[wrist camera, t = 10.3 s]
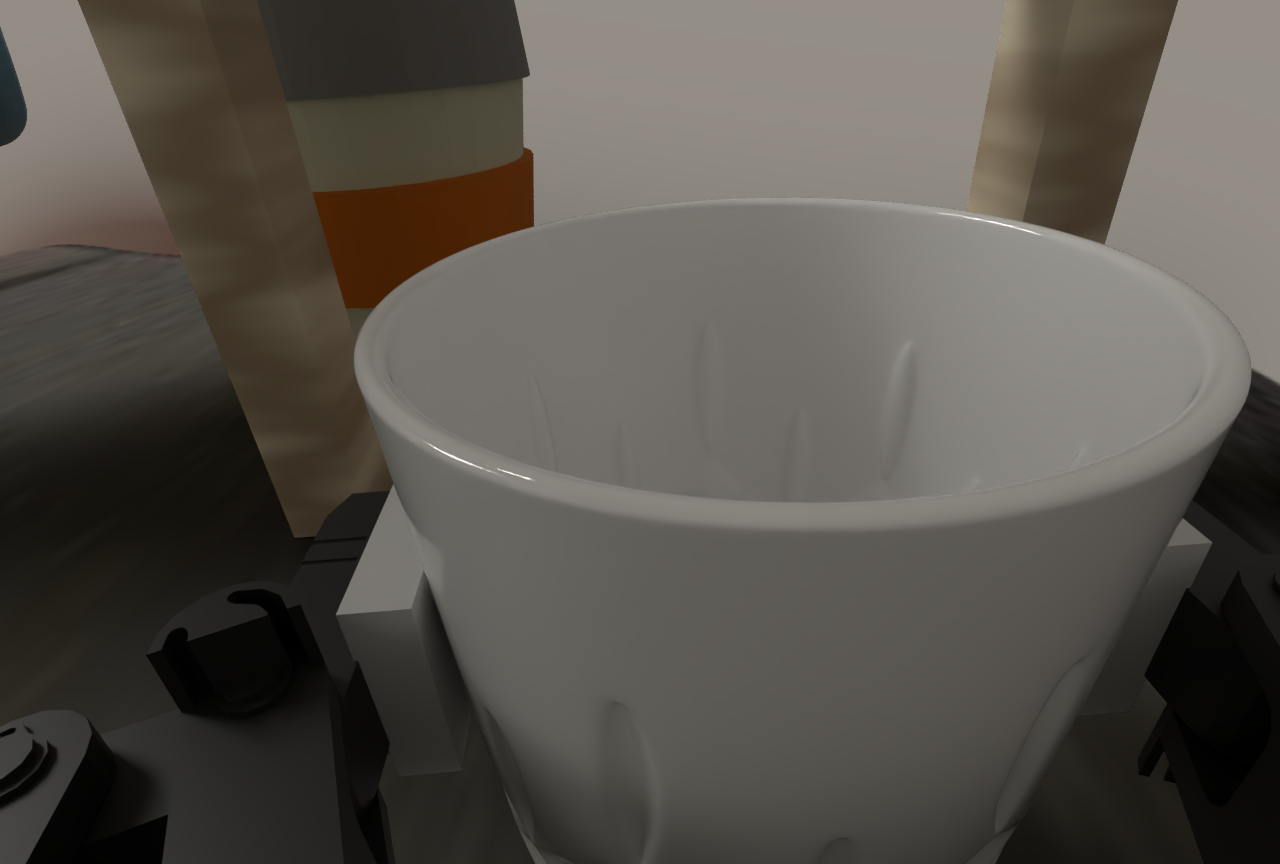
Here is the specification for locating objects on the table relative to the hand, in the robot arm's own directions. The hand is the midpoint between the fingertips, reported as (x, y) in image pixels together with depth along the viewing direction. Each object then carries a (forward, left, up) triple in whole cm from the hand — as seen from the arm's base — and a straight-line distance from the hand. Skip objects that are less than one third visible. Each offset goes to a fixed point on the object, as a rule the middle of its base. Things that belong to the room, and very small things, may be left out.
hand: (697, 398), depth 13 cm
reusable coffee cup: (-22, +1, -8) cm, 23 cm away
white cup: (+4, -2, -6) cm, 8 cm away
